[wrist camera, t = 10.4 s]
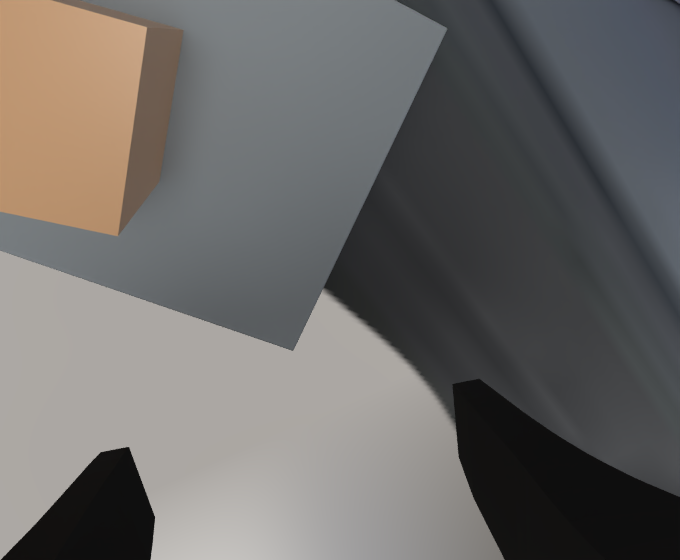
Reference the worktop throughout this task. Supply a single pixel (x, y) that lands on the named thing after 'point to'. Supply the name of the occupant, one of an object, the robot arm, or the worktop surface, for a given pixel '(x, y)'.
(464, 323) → the worktop surface
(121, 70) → the tan wooden cube
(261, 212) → the board
